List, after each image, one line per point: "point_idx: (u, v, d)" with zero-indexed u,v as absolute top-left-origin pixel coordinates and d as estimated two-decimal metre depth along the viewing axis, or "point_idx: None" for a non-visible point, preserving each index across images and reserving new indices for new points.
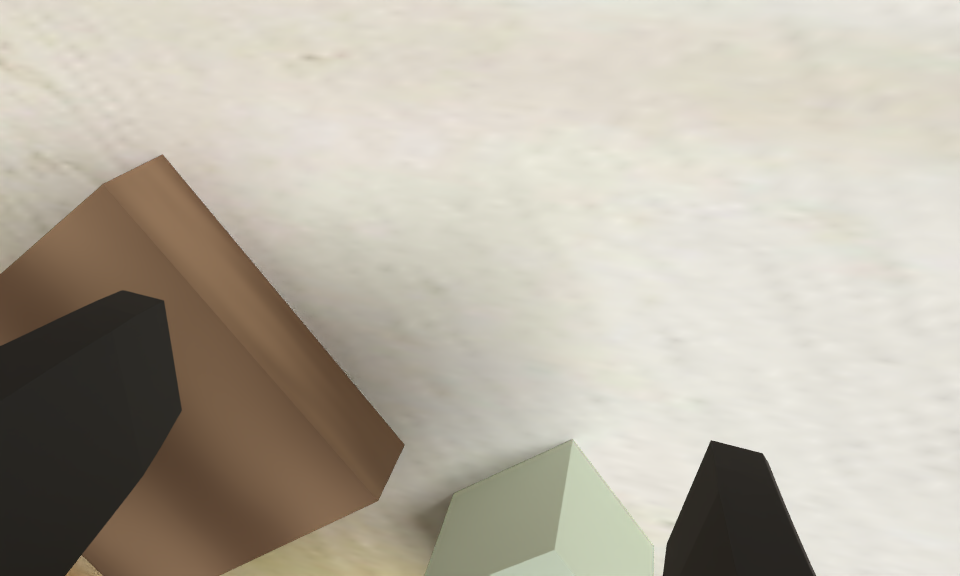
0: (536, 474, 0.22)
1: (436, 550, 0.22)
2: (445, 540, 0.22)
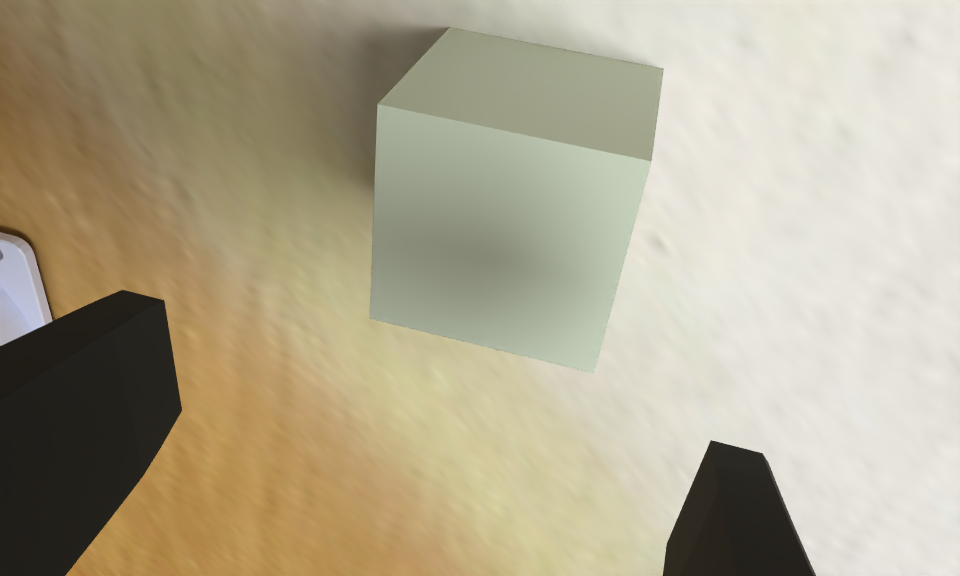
0: (604, 74, 0.15)
1: (419, 67, 0.14)
2: (437, 65, 0.14)
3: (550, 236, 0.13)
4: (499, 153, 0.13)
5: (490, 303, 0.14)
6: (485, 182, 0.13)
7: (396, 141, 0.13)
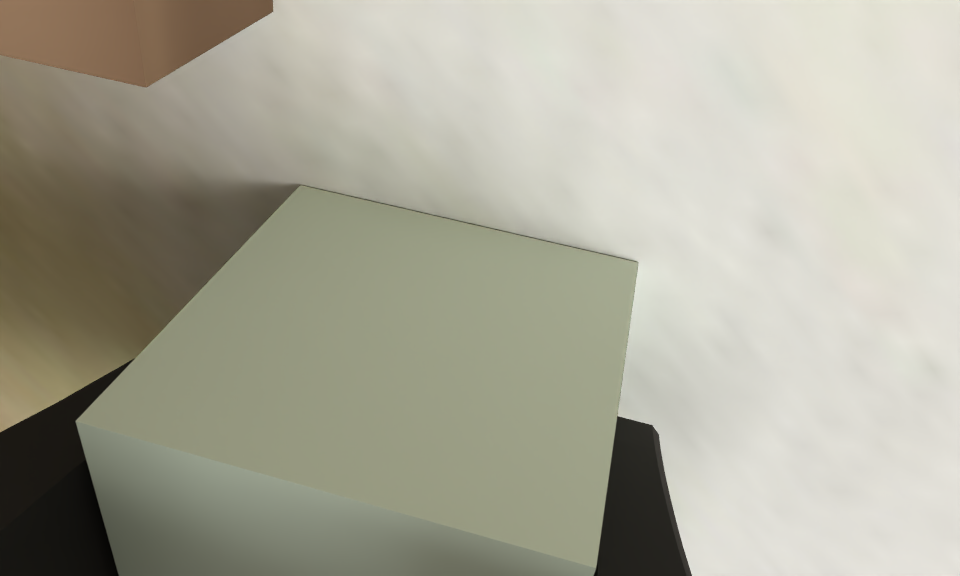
0: (536, 289, 0.09)
1: (206, 299, 0.08)
2: (242, 289, 0.08)
3: None
4: (306, 517, 0.07)
5: None
6: (292, 554, 0.07)
7: (123, 477, 0.07)
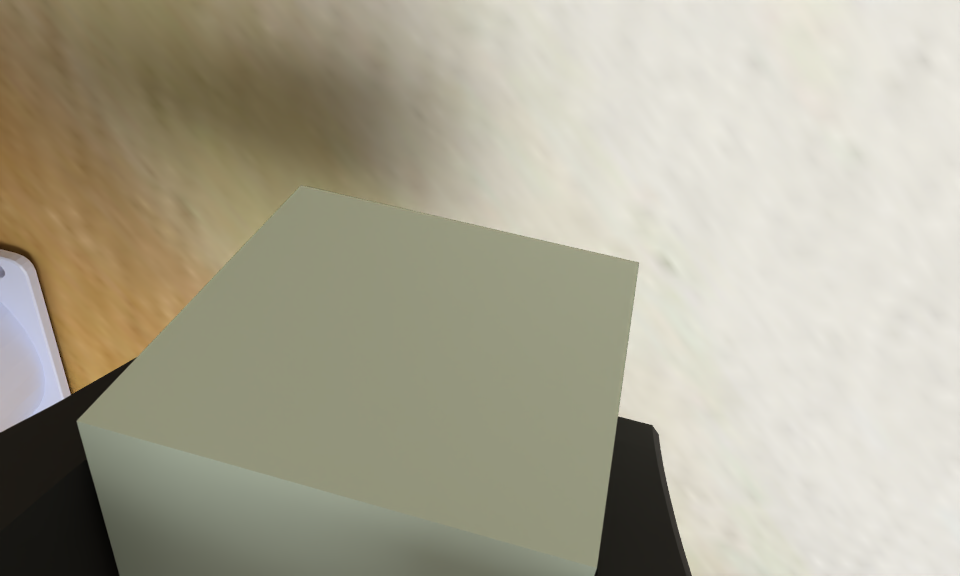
0: (536, 288, 0.09)
1: (207, 299, 0.08)
2: (242, 289, 0.08)
3: None
4: (307, 517, 0.07)
5: None
6: (293, 553, 0.07)
7: (124, 476, 0.07)
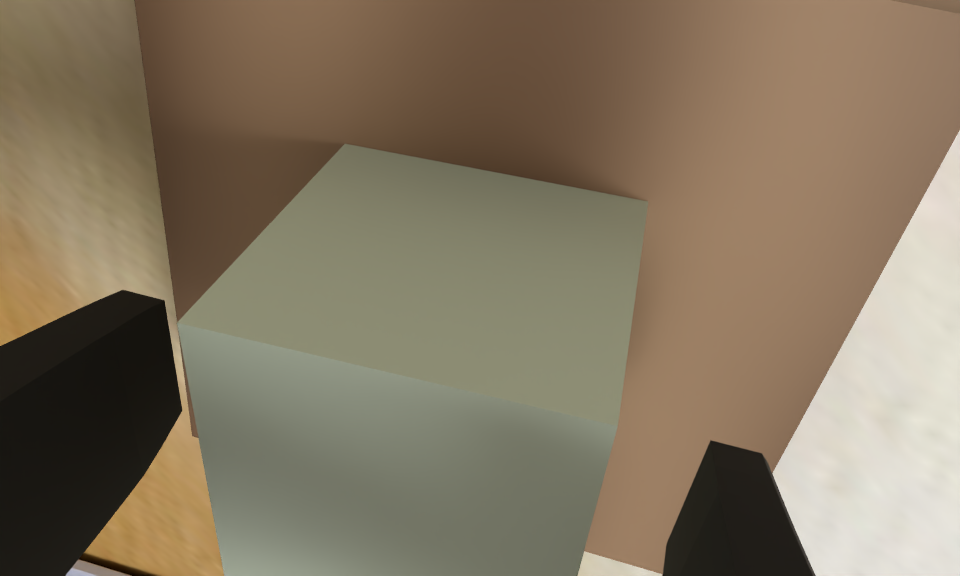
0: (558, 222, 0.10)
1: (273, 233, 0.09)
2: (303, 225, 0.09)
3: (468, 510, 0.08)
4: (372, 399, 0.08)
5: None
6: (358, 435, 0.08)
7: (215, 372, 0.08)
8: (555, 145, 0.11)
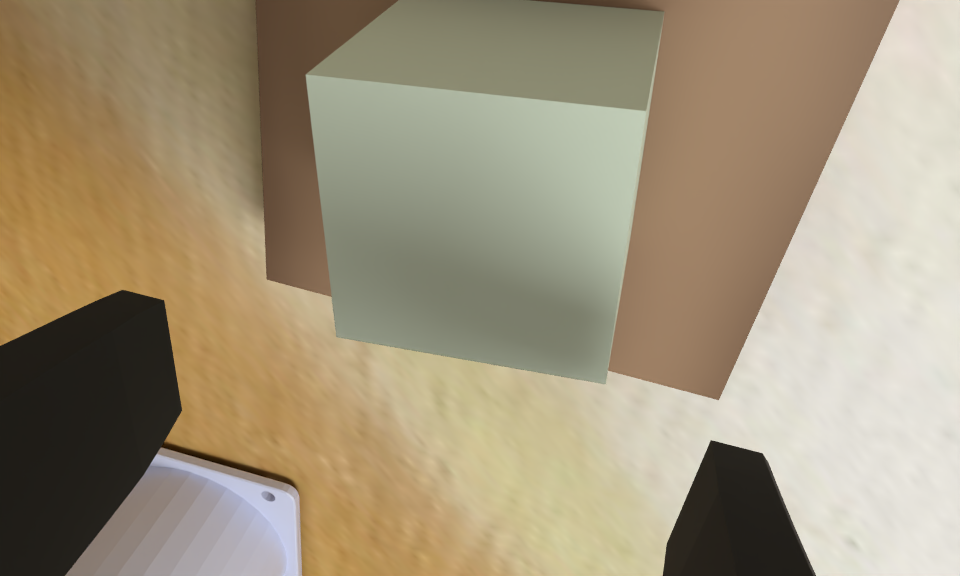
0: (590, 23, 0.12)
1: (366, 33, 0.12)
2: (387, 29, 0.12)
3: (533, 219, 0.11)
4: (457, 120, 0.10)
5: (472, 308, 0.12)
6: (446, 160, 0.10)
7: (334, 118, 0.11)
8: None
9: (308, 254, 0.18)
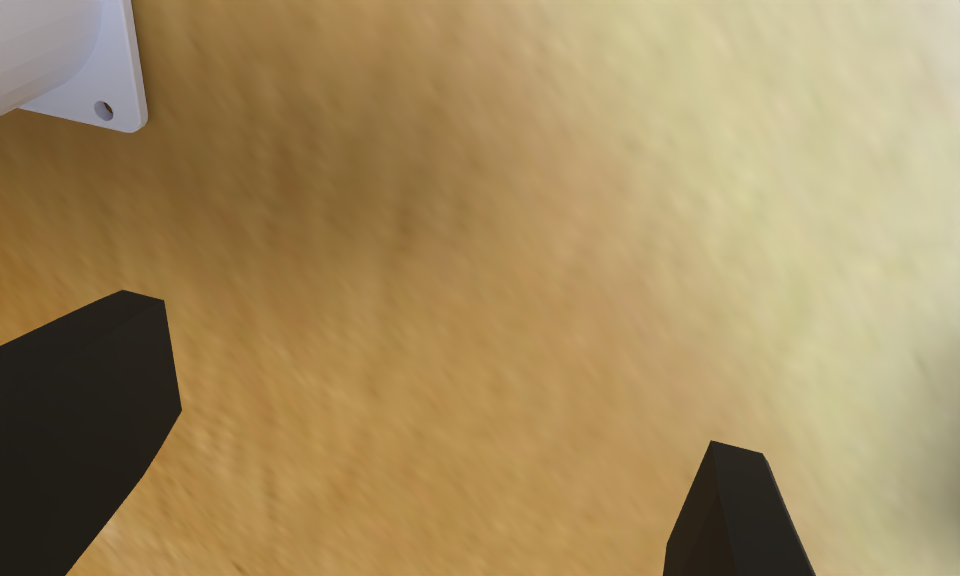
0: None
1: None
2: None
3: None
4: None
5: None
6: None
7: None
8: None
9: None
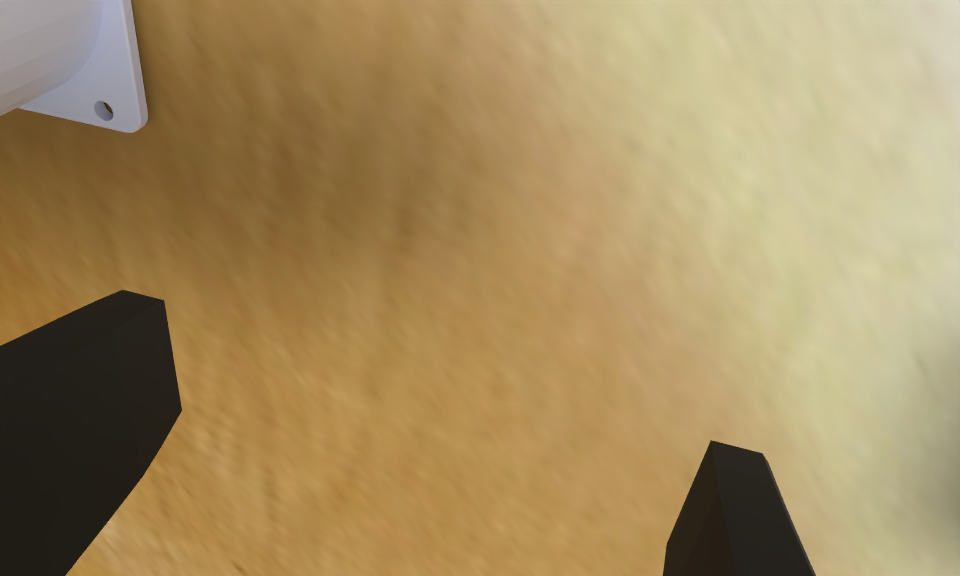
0: None
1: None
2: None
3: None
4: None
5: None
6: None
7: None
8: None
9: None
